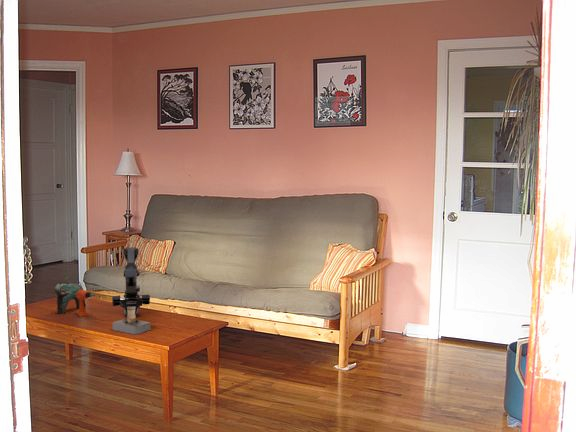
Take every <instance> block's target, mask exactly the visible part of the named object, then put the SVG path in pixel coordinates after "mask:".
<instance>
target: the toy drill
mask: <svg viewBox="0 0 576 432" xmlns="http://www.w3.org/2000/svg"><path fill="white" fill-rule="evenodd" d="M76 296H77V299H78V300H79V309H78V310H77V314H76V315H77V316H78V317H83V318H85V317H88V316H90V315H89V312H88V311H86V310H87V309H86V308H87V307H86V306H87V304H86V299H88V298H91V297H95V296H96V293H95V294H94V293H91V292H90V291H87V290H84V289H83V290H82V289H80V290H79V291H78V292H77V294H76Z"/></svg>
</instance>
